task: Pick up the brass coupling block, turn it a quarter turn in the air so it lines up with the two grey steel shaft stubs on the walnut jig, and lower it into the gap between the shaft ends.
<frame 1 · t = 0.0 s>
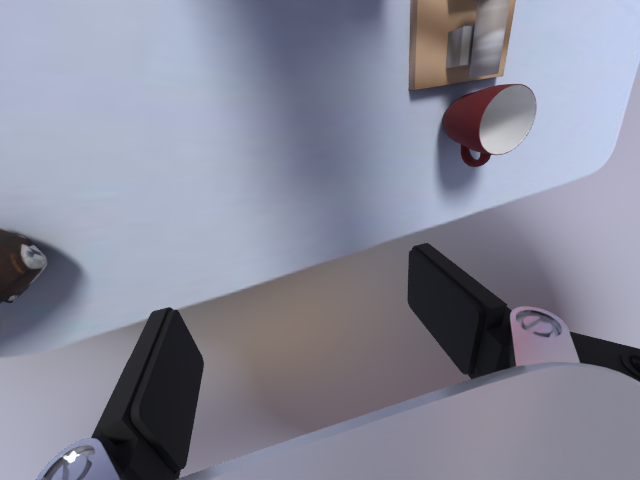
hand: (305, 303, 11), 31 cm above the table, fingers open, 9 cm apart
mug: (453, 126, 42), on the table
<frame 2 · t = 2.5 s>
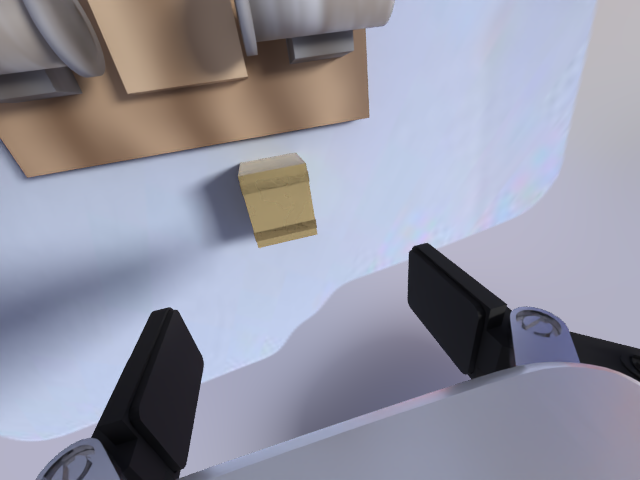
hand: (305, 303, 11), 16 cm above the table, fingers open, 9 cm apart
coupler: (275, 189, 25), on the table
shaft jig: (182, 39, 19), on the table
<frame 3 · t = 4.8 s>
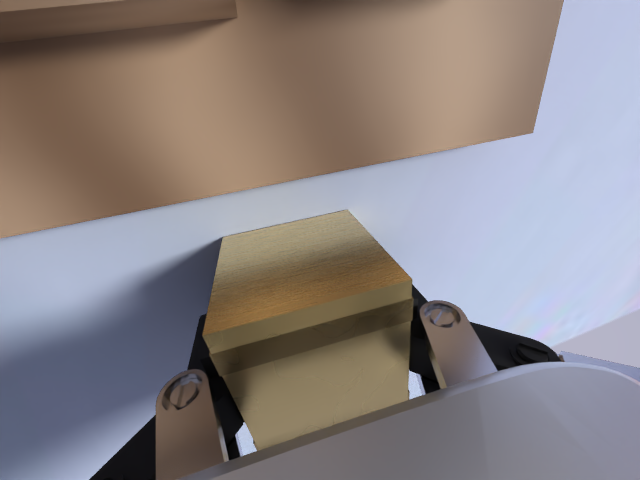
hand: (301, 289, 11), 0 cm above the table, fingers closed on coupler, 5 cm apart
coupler: (300, 283, 12), on the table, touching gripper
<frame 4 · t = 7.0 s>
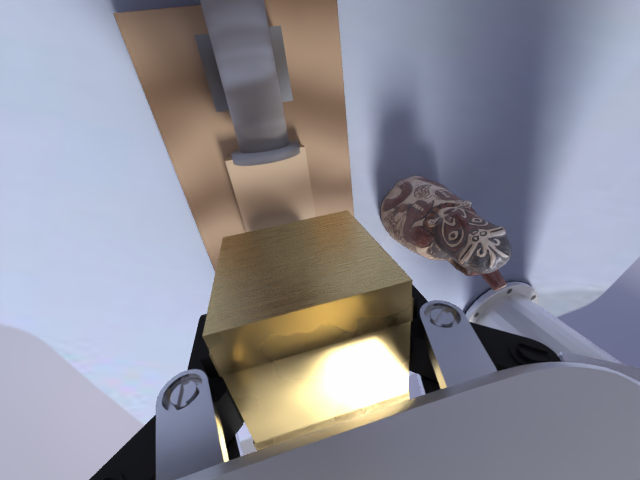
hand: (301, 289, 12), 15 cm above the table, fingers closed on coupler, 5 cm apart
figurine: (409, 207, 29), on the table
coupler: (300, 283, 12), point 15 cm above the table, touching gripper
shaft jig: (273, 190, 25), on the table
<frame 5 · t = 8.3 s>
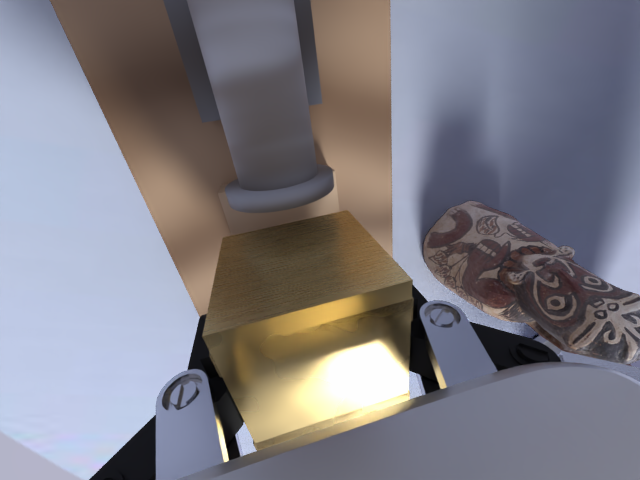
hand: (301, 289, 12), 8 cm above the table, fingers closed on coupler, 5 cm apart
figurine: (459, 240, 23), on the table
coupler: (300, 283, 12), point 7 cm above the table, touching gripper
shaft jig: (285, 224, 18), on the table
when the fingers open (5 cm above the table, at t = 9.2 s): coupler drops 1 cm, resting on shaft jig.
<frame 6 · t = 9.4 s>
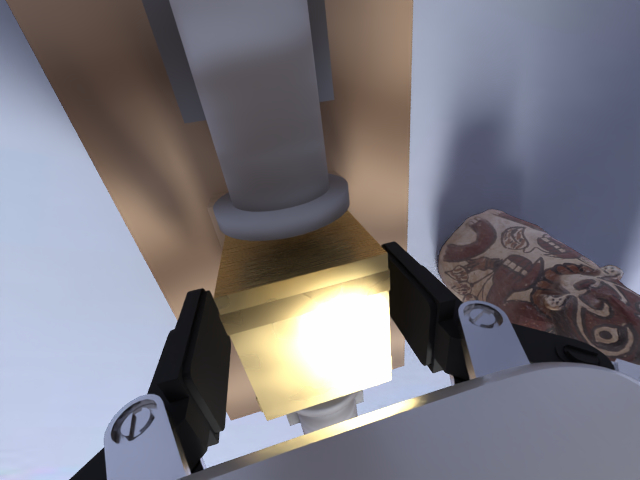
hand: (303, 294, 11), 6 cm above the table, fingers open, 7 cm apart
figurine: (477, 252, 21), on the table
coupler: (296, 267, 13), point 3 cm above the table, touching shaft jig
shaft jig: (287, 237, 16), on the table
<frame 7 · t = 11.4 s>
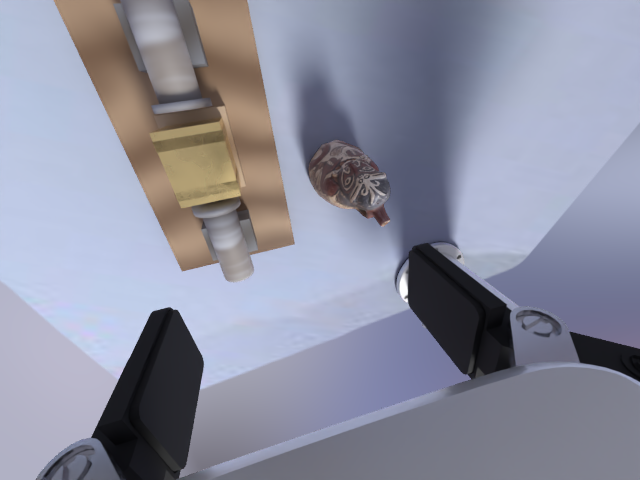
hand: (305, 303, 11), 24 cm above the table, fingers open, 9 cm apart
figurine: (335, 170, 33), on the table
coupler: (205, 155, 26), point 3 cm above the table, touching shaft jig
shaft jig: (207, 148, 28), on the table
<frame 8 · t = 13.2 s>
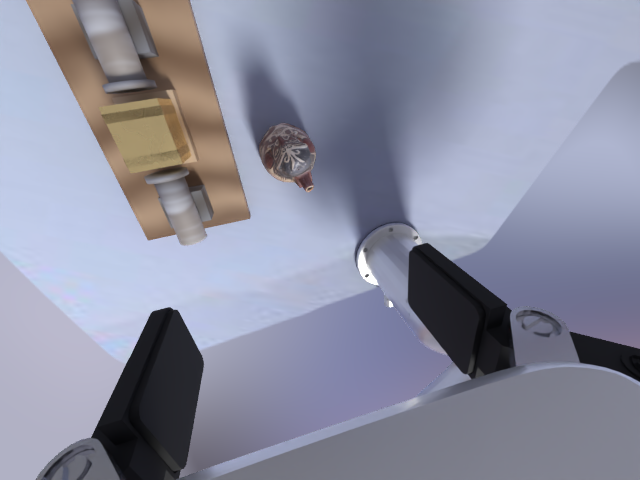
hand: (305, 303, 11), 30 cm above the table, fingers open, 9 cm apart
figurine: (285, 150, 37), on the table
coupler: (158, 132, 30), point 3 cm above the table, touching shaft jig
shaft jig: (165, 129, 33), on the table
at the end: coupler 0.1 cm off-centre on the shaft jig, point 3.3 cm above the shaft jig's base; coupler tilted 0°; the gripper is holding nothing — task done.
